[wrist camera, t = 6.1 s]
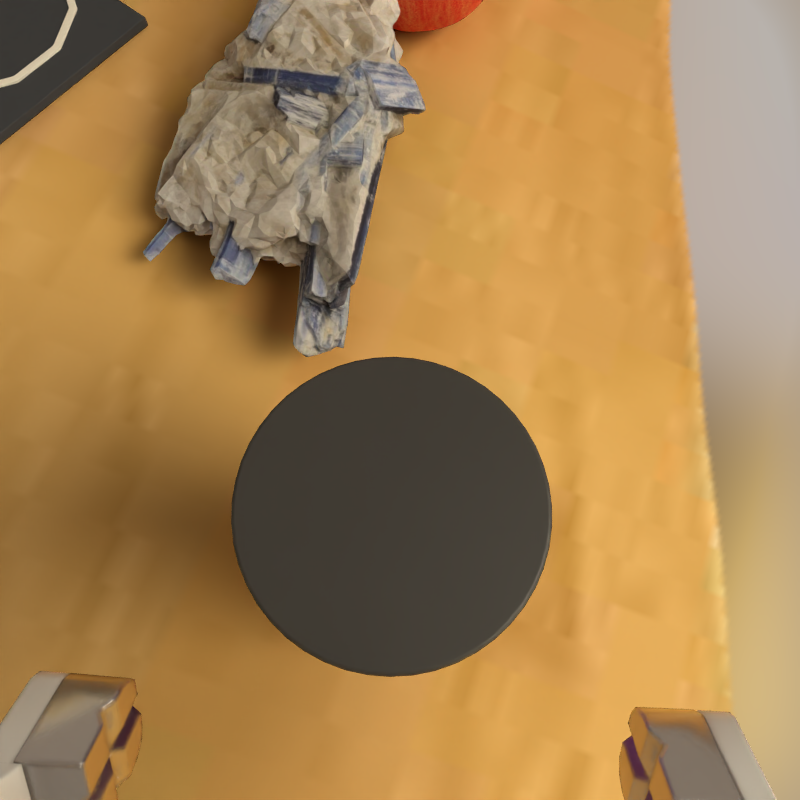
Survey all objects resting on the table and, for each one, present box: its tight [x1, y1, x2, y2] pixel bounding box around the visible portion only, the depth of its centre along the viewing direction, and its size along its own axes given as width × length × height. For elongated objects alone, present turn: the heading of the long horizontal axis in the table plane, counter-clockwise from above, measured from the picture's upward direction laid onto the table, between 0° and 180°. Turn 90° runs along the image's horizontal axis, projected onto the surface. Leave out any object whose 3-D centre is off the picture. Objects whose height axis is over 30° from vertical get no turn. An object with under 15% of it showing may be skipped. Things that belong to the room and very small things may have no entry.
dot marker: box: [231, 357, 552, 677], centre depth 15 cm, size 4×4×12 cm
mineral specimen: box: [143, 0, 426, 357], centre depth 24 cm, size 15×8×4 cm, turn 162°
